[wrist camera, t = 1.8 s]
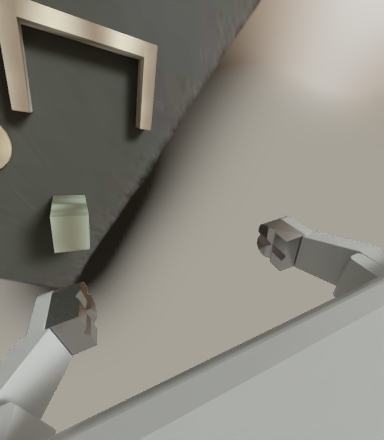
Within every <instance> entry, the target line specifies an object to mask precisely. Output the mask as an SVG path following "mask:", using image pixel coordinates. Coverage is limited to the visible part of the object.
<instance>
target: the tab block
mask: <svg viewBox="0 0 384 440" xmlns="http://www.w3.org/2000/svg"><path fill="white" fill-rule="evenodd" d="M50 222H51V230H52V237H53V245H54V252H55V253H60V252H68V251H76V250H85V249H90V237H89V215H88V210H87V204H86V199H85V195H66V196H53V199H52V206H51V213H50Z"/></svg>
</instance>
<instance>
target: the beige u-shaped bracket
mask: <svg viewBox="0 0 384 440" xmlns="http://www.w3.org/2000/svg"><path fill="white" fill-rule="evenodd" d="M21 24H23V25H26V26H30V27H33V28H36V29H39V30H43V31H46V32H49V33H52V34H56V35H59V36H62V37H65V38H69V39H72V40H75V41H78V42H82V43H85V44H88V45H91V46H95V47H98V48H101V49H104V50H108V51H111V52H114V53H117V54H121V55H124V56H127V57H130V58H134V59H137V60H139V65H138V85H137V105H136V126H135V127H137V128H139V129H145V130H151V121H152V108H153V96H154V83H155V70H156V57H157V45H154V44H151V43H148V42H145V41H142V40H140V39H137V38H134V37H131V36H128V35H126V34H123V33H120V32H117V31H114V30H112V29H109V28H106V27H103V26H100V25H97V24H95V23H92V22H89V21H86V20H83V19H81V18H78V17H75V16H72V15H69V14H67V13H64V12H61V11H58V10H55V9H52V8H50V7H47V6H44V5H41V4H38V3H36V2H33V1H30V0H0V44H1V49H2V55H3V61H4V67H5V72H6V78H7V84H8V90H9V96H10V101H11V107H12V110H16V111H23V112H29V113H30V112H33V110H32V102H31V95H30V88H29V80H28V73H27V66H26V58H25V51H24V44H23V36H22V29H21Z"/></svg>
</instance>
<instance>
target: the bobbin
mask: <svg viewBox="0 0 384 440" xmlns="http://www.w3.org/2000/svg"><path fill="white" fill-rule="evenodd" d="M11 155H12V143H11V140H10V138H9V136H8V134H7V132H6V131H5V130H4V128H3V127H2V126H1V125H0V169H1V168H2V167H4V166H5V165H6V164H7V162H8V161H9V160H10V158H11Z"/></svg>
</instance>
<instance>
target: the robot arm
mask: <svg viewBox="0 0 384 440" xmlns="http://www.w3.org/2000/svg"><path fill="white" fill-rule="evenodd" d="M259 233H260V236H259V237H258V240H257V245H258V248H259V250H260V252H261V253H262V254H263V255H264V256H265V257H268V258H270V262H271V263H272V264H273V265H274V266H275V267H276V268H277V269H278V270H279V271H281V270H284V269H287V268H290V267H292V266H294V267H296V268H298V269H300V270H303V271H305V272H307V273H309V274H312V275H314V276H316V277H318V278H320V279H323V280H325V281H327V282H329V283H331V284H334V285H336V288H335V290H334V292H333V294H334V296H335V297H336V298H334V299H332V300H330V301H328V302H326V303H324V304H322V305H320V306H317V307H316V308H314V309H311V310H310V311H307V312H305V313H303V314H301V315H299V316H297V317H295V318H293V319H291V320H289V321H287V322H285V323H283V324H281V325H279V326H277V327H274V328H272V329H271V330H268V331H266V332H264V333H262V334H260V335H258V336H256V337H254V338H252V339H250V340H248V341H246V342H244V343H242V344H240V345H238V346H236V347H234V348H231V349H229V350H227V351H226V352H223V353H221V354H219V355H217V356H215V357H213V358H211V359H209V360H207V361H205V362H203V363H201V364H199V365H197V366H195V367H193V368H190V369H189V370H187V371H184V372H182V373H180V374H178V375H176V376H174V377H172V378H170V379H168V380H166V381H164V382H162V383H160V384H158V385H156V386H154V387H152V388H150V389H148V390H146V391H143V392H141V393H140V394H137V395H135V396H133V397H131V398H129V399H127V400H125V401H123V402H121V403H119V404H117V405H115V406H113V407H111V408H109V409H107V410H105V411H103V412H101V413H98V414H97V415H95V416H92V417H90V418H88V419H86V420H84V421H82V422H80V423H78V424H76V425H74V426H72V427H70V428H68V429H66V430H64V431H62V432H60V433H58V434H56V435H55V429H54V428H53V427H51V426H49V425H48V424H46V423H44V422H43V421H41V420H40V419H41V418H42V416H43V414H44V412H45V410H46V407H47V406H48V404H49V402H50V400H51V398H52V396H53V394H54V392H55V390H56V389H57V386H58V385H59V383H60V381H61V379H62V377H63V375H64V373H65V371H66V369H67V367H68V365H69V363H70V361H71V359H72V358H73V356H72V355H75V354H77V353H79V352H81V351H84V350H86V349H88V348H91V347H93V346H96V345H97V328H96V326H95V324H94V321H95V320H96V318H97V313H96V306H95V303H94V300H93V297H92V295H89V294H87V286H86V285H85V283H84V282H81V283H77V284H74V285H70V286H67V287H64V288H60V289H57V290H54V291H51V292H48V293H45V294H41V295H39V296H38V297H37V299H36V301H35V304H34V308H33V311H32V315H31V319H30V322H29V326H28V329H27V333H26V337H24V338H21V339H20V340H19V341H18V342H17V343H16V344H15V345H14V347H13V348H12V349H11V350H10V351H9V352H8V353H7V355H6V356H5V357H4V358H3V359H2V360H1V362H0V440H384V251H383V250H382V249H380V248H378V247H376V246H374V245H370V244H366V243H362V242H358V241H354V240H349V239H345V238H341V237H337V236H333V235H329V234H324V233H320V232H312V231H311V230H309V229H308V228H306V227H305V226H303V225H302V224H300V223H299V222H297V221H296V220H294V219H292V218H291V217H288V216H285V217H282V218H279V219H277V220H273V221H271V222H267V223H264V224H261V225H260V227H259Z"/></svg>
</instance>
